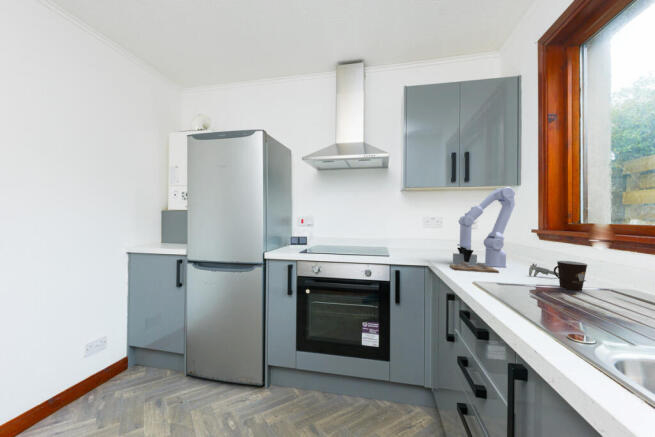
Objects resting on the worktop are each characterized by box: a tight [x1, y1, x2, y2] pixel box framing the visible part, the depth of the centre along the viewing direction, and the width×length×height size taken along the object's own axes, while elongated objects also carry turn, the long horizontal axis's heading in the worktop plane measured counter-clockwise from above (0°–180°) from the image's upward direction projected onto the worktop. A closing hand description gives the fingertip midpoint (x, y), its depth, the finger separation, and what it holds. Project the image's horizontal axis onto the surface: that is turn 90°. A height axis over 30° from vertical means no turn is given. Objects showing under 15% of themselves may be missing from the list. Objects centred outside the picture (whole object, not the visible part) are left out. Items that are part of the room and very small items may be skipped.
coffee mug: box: [553, 260, 588, 292], centre depth 104 cm, size 12×9×10 cm
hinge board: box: [449, 262, 500, 274], centre depth 137 cm, size 20×10×3 cm, turn 78°
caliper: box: [528, 263, 587, 282], centre depth 121 cm, size 20×1×6 cm, turn 67°
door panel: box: [452, 252, 478, 266], centre depth 151 cm, size 12×2×6 cm, turn 78°
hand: (464, 261), depth 151 cm, fingers open, 7 cm apart
